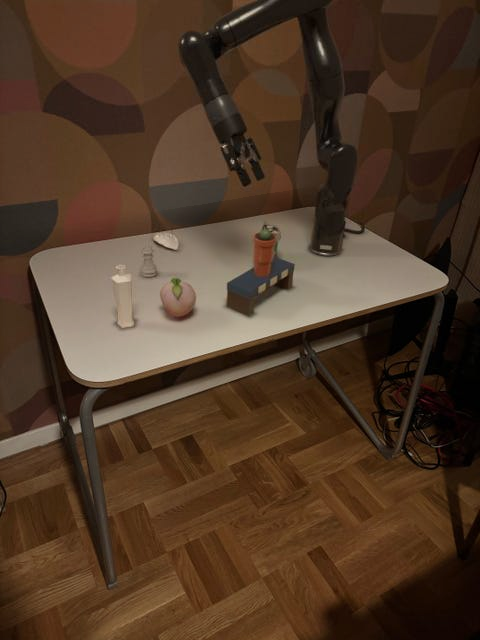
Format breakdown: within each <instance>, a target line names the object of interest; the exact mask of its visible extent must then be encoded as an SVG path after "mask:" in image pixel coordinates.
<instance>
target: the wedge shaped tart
mask: <svg viewBox="0 0 480 640" xmlns="http://www.w3.org/2000/svg"><path fill="white" fill-rule="evenodd" d="M262 229H268V230H269V231H270V232H271V233H272V234H274V235H275V236H276V237H277V239H276V244H275V246H274V257H277V253H278V245H279V242H280V240H281V239H282V233H281V230H280V227H279V226H277V224H276V225H275V224H274V223H271V222H266V221H263V224H262V227H261V230H262Z"/></svg>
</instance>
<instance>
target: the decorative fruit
mask: <svg viewBox="0 0 480 640" xmlns="http://www.w3.org/2000/svg"><path fill="white" fill-rule="evenodd" d="M159 297H160V301H161V303H162V306H163V308H164V310H165V311H166V312H167V313H168V314H170V315H171V316H173V317H183V316H186V315H187V314H189V313H190V312H191V311H192V309H193V308H194V307H195V305H196V303H197V302H196V301H197V294H196V291H195V290H194V287H193V286H192V285H191V284H190V283H188V282H187V281H183V280H181V279H180V278H179V277H173V278H171V279H170V281H167V282H166V283H165V284H164V285H162V287H161V288H160V291H159Z"/></svg>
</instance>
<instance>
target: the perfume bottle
mask: <svg viewBox="0 0 480 640" xmlns="http://www.w3.org/2000/svg"><path fill="white" fill-rule="evenodd" d="M115 268H116V274H115V275H113V276H111V277H110V280H111V285H112V291H113V296H114V301H115V306H116V311H117V317H118V320H117V325H118V326H120V327H121V328H122V329H124V328H130V327H134V323H135V320H134V317H133V288H132V287H133V285H132V284H133V283H132V282H133V281H132V278H133V277H132V274H130V273H126V265H125V264H118V265H116V266H115Z"/></svg>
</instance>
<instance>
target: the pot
mask: <svg viewBox="0 0 480 640" xmlns="http://www.w3.org/2000/svg"><path fill="white" fill-rule="evenodd" d="M276 239H277V237H276V236H275V235H274V234H272V233H271V232H270V231H269V230H268V229H262V228H261V230H260V231H259V232H256V233H254V234H253V237H252V242H253V256H252V257H253V262H254V263H253V268H254V274H255V275H256V276H259V277H267V276H270V275H271V266H272V261H273V257H274V246H275V244H276Z"/></svg>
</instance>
